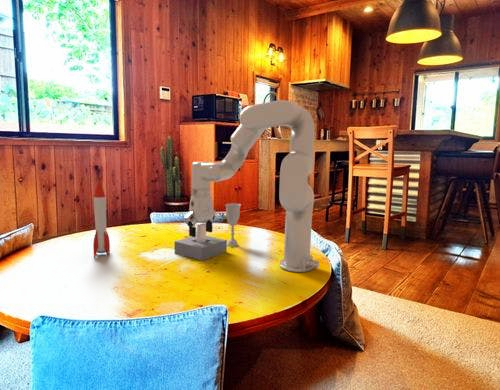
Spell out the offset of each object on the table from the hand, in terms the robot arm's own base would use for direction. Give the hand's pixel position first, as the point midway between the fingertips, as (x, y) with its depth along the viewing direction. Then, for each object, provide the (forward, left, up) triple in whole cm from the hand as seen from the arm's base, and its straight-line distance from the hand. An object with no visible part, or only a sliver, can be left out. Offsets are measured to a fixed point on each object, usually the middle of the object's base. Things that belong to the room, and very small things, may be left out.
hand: (200, 234), depth 151 cm
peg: (0, 0, -8) cm, 8 cm away
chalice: (-3, -17, -8) cm, 19 cm away
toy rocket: (+28, +27, -8) cm, 40 cm away
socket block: (0, 0, -8) cm, 8 cm away
